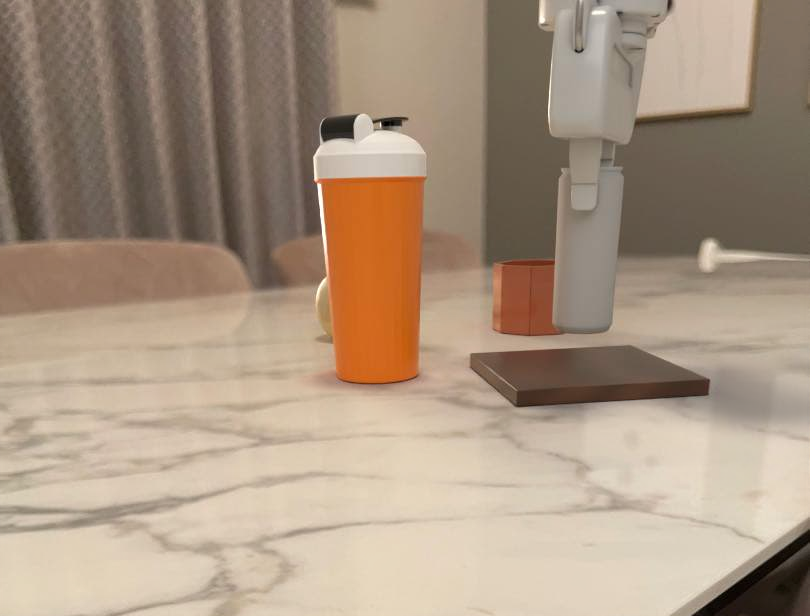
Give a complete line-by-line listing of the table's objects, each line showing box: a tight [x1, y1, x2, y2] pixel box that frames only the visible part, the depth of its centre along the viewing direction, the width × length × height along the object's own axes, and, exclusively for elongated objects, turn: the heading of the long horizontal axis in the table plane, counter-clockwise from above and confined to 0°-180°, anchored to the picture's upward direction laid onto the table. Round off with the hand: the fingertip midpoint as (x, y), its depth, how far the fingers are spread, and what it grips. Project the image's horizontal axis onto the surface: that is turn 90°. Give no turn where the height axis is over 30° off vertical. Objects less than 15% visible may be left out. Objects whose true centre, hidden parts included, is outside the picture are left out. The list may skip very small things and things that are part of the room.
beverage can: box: [552, 166, 625, 335], centre depth 66 cm, size 5×5×12 cm
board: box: [469, 344, 711, 407], centre depth 69 cm, size 15×15×1 cm
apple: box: [315, 276, 333, 338], centre depth 90 cm, size 8×8×8 cm
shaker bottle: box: [312, 113, 428, 384], centre depth 69 cm, size 9×9×20 cm
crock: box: [492, 258, 564, 336], centre depth 92 cm, size 8×8×7 cm
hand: (590, 208), depth 64 cm, fingers closed on beverage can, 5 cm apart
